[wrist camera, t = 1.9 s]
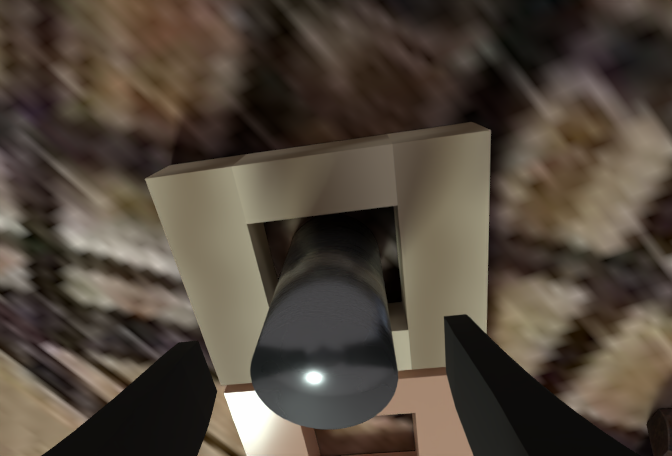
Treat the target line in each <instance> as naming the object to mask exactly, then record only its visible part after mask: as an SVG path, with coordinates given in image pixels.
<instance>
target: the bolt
mask: <svg viewBox="0 0 672 456" xmlns="http://www.w3.org/2000/svg"><path fill="white" fill-rule="evenodd" d="M647 429H648V433H649V438H650V442H651V447H652V451H653V456H672V408H667V409H658V411H657V412H656V413H655V414H654V415H653V417H652V418H651V419H650V420H649V422H648V423H647Z"/></svg>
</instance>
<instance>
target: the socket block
mask: <svg viewBox="0 0 672 456" xmlns="http://www.w3.org/2000/svg"><path fill="white" fill-rule="evenodd" d="M224 395H225V398H226V400H227V403H228V406H229V409H230V411H231V414H232V417H233V419H234V422H235V425H236V428H237V430H238V433H239V436H240V438H241V441H242V444H243V447H244V449H245V452H246V455H247V456H321V455H320V451H319V447H318V443H317V439H316V435H315V430H314V428H309V427H305V426H301V425H298V424H295V423H292V422H290V421H288V420H285V419H283V418H282V417H280V416H278V415H277V414H275V413H274V412H273V411H271V410H270V409H269V408H268V407H267V406H266V405H265V404H264V403H263V402H262V401H261V399H260V398H259V397H258V395H257V393H256V392H255V390H254V387H253V385H252V383H244V384H232V385H227V387H226V389H225V392H224ZM405 413H412V417H413V428H414V439H415V450H416V451H407V452H391V453H375V454H359V455H343V456H473V453H472V451H471V448H470V445H469V443H468V440H467V437H466V435H465V432H464V429H463V427H462V424H461V422H460V419H459V416H458V413H457V411H456V408H455V405H454V401H453V397H452V393H451V390H450V386H449V382H448V378H447V374H446V367H437V368H425V369H413V370H401V371H398V383H397V388H396V391H395V394H394V396H393V397H392V399H391V401H390V402H389V404H388V405H387V406H386V407H385V408H384V409H383V410H382V411H381V412H380V413H378V414H377V415H391V414H405ZM377 415H376V416H377Z"/></svg>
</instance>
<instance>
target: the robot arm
mask: <svg viewBox="0 0 672 456" xmlns="http://www.w3.org/2000/svg"><path fill="white" fill-rule="evenodd" d="M444 334H445V361H446V374H447V378H448V382H449V386H450V390H451V393H452V397H453V401H454V405H455V408H456V411H457V413H458V416H459V419H460V422H461V424H462V427H463V429H464V432H465V435H466V437H467V440H468V443H469V445H470V448H471V451H472V453H473V456H640V455H638V454H637V453H635V452H634V451H632V450H630V449H629V448H627V447H626V446H624V445H622V444H621V443H619V442H618V441H616V440H615V439H613V438H612V437H610V436H609V435H608V434H606V433H605V432H603V431H602V430H600V429H599V428H597V427H596V426H595V425H593V424H592V423H590V422H589V421H588V420H586V419H585V418H584V417H582V416H581V415H579V414H578V413H577V412H575V411H574V410H573V409H571V408H570V407H569V406H568V405H566V404H565V403H564V402H562V401H561V400H560V399H559V398H557V397H556V396H555V395H554V394H552V393H551V392H550V391H549V390H548V389H546V388H545V387H544V386H543V385H541V384H540V383H539V382H538V381H537V380H536V379H534V378H533V377H532V376H531V375H530V374H529V373H527V372H526V371H525V370H524V369H523V368H522V367H521V366H520V365H519V364H517V363H516V362H515V361H514V360H513V359H512V358H511V357H510V356H509V355H507V354H506V353H505V352H504V351H503V350H502V349H501V348H500V347H499V346H498V345H497V344H496V343H495V342H494V341H493V340H492V339H491V338H490V337H489V336H488V335H487V334H486V333H485V332H484V331H483V330H482V329H481V328H480V327H479V326H478V325H477V324H476V323H475V322H474V321H473V320H472V319H471V318H470V317H469V316H468V315H467V314H463V315H452V316H444ZM216 394H217V390H216V387H215V384H214V382H213V379H212V376H211V374H210V371H209V368H208V366H207V363H206V360H205V358H204V355H203V352H202V350H201V347H200V344H199V342H198V341H190V342H180V343H178V344H176V345H175V346H174V347H172V348H171V349H170V350H169V351H168V352H166V353H165V354H164V355H163V356H162V357H161V358H159V359H158V360H157V361H156V362H155V363H154V364H153V365H151V366H150V367H149V368H148V369H147V370H146V371H145V372H144V373H142V374H141V375H140V376H139V377H138V378H137V379H136V380H134V381H133V382H132V383H131V384H130V385H129V386H128V387H126V388H125V389H124V390H123V391H122V392H121V393H120V394H118V395H117V396H116V397H115V398H114V399H113V400H111V401H110V402H109V403H108V404H107V405H105V406H104V407H103V408H102V409H101V410H99V411H98V412H97V413H96V414H94V415H93V416H92V417H91V418H90V419H88V420H87V421H86V422H85V423H84V424H82V425H81V426H80V427H79V428H77V429H76V430H75V431H74V432H72V433H71V434H70V435H69V436H67V437H66V438H65V439H63V440H62V441H61V442H59V443H58V444H57V445H56V446H54V447H53V448H52V449H50V450H49V451H47V452H46V453H45V454H43V455H42V456H197V455H198V452H199V449H200V447H201V444H202V442H203V439H204V436H205V434H206V431H207V428H208V425H209V422H210V418H211V414H212V411H213V407H214V402H215V398H216Z"/></svg>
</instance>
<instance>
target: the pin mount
mask: <svg viewBox="0 0 672 456" xmlns="http://www.w3.org/2000/svg"><path fill="white" fill-rule="evenodd" d="M490 147H491V130H489V129H487V128H485V127H482V126H480V125H478V124H476V123H473V122H468V123H461V124H454V125H447V126H440V127H433V128H426V129H419V130H412V131H405V132H398V133H391V134H384V135H377V136H370V137H363V138H356V139H349V140H342V141H335V142H328V143H321V144H314V145H307V146H300V147H293V148H286V149H279V150H272V151H265V152H258V153H251V154H244V155H238V156H231V157H224V158H217V159H210V160H203V161H196V162H189V163H182V164H175V165H170V166H168V167H166V168H164V169H162V170H160V171H159V172H157V173H155V174H153V175H151V176H149V177H147V178H146V179H145V180H146V183H147V185H148V188H149V191H150V194H151V196H152V199H153V202H154V204H155V207H156V210H157V213H158V215H159V218H160V221H161V223H162V226H163V229H164V232H165V234H166V237H167V240H168V243H169V245H170V248H171V251H172V253H173V256H174V259H175V262H176V264H177V267H178V270H179V272H180V275H181V278H182V281H183V283H184V286H185V289H186V292H187V294H188V297H189V300H190V302H191V305H192V308H193V311H194V313H195V316H196V319H197V321H198V324H199V327H200V330H201V332H202V335H203V338H204V340H205V343H206V346H207V349H208V351H209V354H210V357H211V360H212V362H213V365H214V368H215V370H216V373H217V376H218V379H219V381H220V384H221V385H232V384H244V383H252V381H251V376H250V366H251V361H252V357H253V354H254V351H255V348H256V345H257V342H258V339H259V336H260V333H261V330H262V328H263V325H264V322H265V319H266V316H267V313H268V310H269V307H270V304H271V301H272V298H273V295H274V292H275V289H276V286H277V283H278V280H277V276H276V272H275V268H274V264H273V260H272V256H271V252H270V248H269V244H268V240H267V236H266V232H265V228H264V224H263V222H268V221H276V220H284V219H292V218H300V217H308V216H316V215H324V214H332V213H340V212H348V211H356V210H364V209H372V208H380V207H389V206H394V217H395V228H396V239H397V251H398V262H399V273H400V284H401V295H402V302H396V303H387V305H388V311H389V317H390V324H391V330H392V337H393V343H394V349H395V356H396V362H397V369H398V371H401V370H413V369H425V368H437V367H446V361H445V334H444V316H452V315H463V314H467V315H468V316H469V317H470V318H471V319H472V320H473V321H474V322H475V323H476V324H477V325H478V326H479V327H480V328H481V329H482V330H483V331H484V332H485V333H486V334H487V289H488V242H489V194H490Z"/></svg>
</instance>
